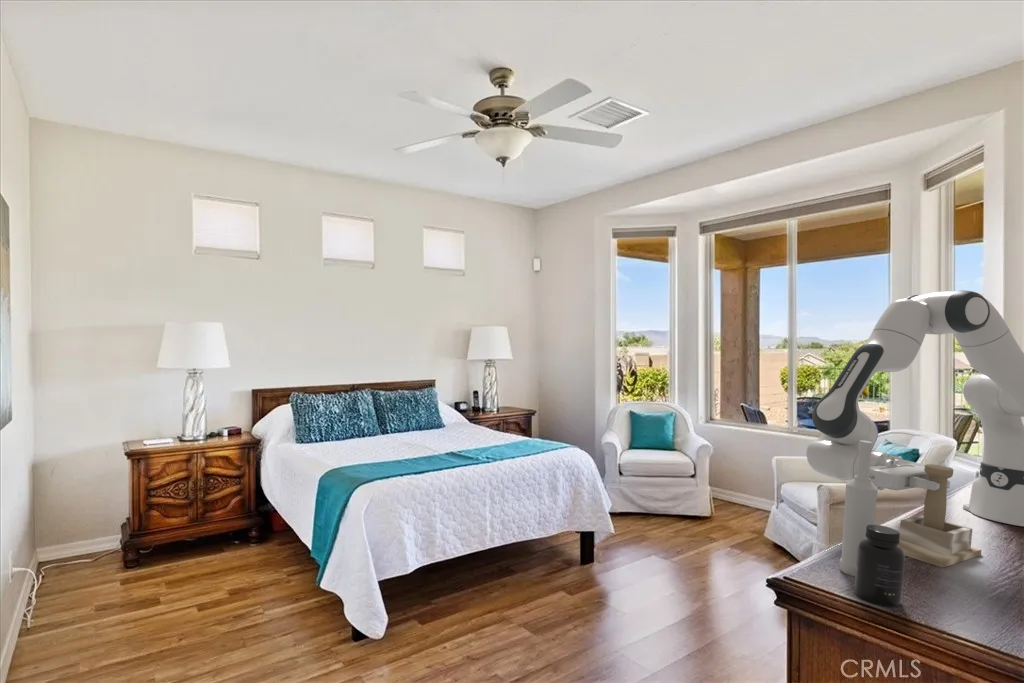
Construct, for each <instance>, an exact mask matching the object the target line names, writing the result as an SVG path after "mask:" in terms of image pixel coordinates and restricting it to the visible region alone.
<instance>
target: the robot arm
mask: <svg viewBox="0 0 1024 683" xmlns="http://www.w3.org/2000/svg"><path fill="white" fill-rule="evenodd" d="M945 334H954V335H953V336H954V337H955V340H956V342H957V343H958V345H959V347H960V349H961V351H962V352H963V354H964V355H965V358H966V360H967V362H968V363H969V365H970V366H971V368H972V369H973V370H975V371H976V372H978V374H974V375H971V376H970V377H969V378H968V379H967V380H966V381H965V383H964V386H963V388H962V391H963V393H962V394H963V398H964V400H965V401H966V403H968V405H969V406H971V408H973V410H974V411H975V413H976V414H977V417H978V418H979V421H980V423H981V424H980V425H981V426H982V431H983V456H982V461H980V466H979V475H980V476H979V477H978V478H976V479H974V480H972V485H971V490H970V491H971V492H970V497H969V502H968V503H965V504H963V505H962V509H963V510H966V511H969V512H971V513H972V514H973V515H975V516H978V517H980V518H984V519H987V520H990V521H994V522H997V523H1003V524H1008V525H1012V526H1019V527H1024V424H1023V420H1022V417H1023V418H1024V351H1023V350H1022V349H1021V347H1020V346H1019V344H1018V342H1017V340H1016V339H1015V337H1014V334H1012V332H1011V330H1010V328H1009V326H1008V323H1007V322H1006V321H1005V320H1004V318H1003V316H1002V315H1001V314H1000V313H999V311H998V310H997V309H996V307H995V306H994V305H993V304H992V303H991V302H990V300H988V299H987V298H986V297H984V296H983V295H982V294H981V293H978V292H975V291H971V290H955V291H954V290H952V291H950V290H949V291H947V290H946V291H945V290H944V291H934V292H930V293H923V294H915V295H910V296H907V297H905V298H900V299H895V300H894V301H892V302H891V303H890V304H889V305H888V306H887V307H886V308H885V310H884V311H883V313H882V314H881V316H880V317H879V319H878V320H877V322H876V324H875V325H874V328H873V329H872V331H871V334H870V336H869V337H868V339H867V340H866V341H865V343H864V344H862V345H861V346H859V347H858V348H857V349H856V350H855V351H854V353H853V354H852V355H851V357H850V358H849V360H848V362H847V363H846V364H845V366H844V368H843V369H842V370H841V371H840V374H839V376H838V377H837V378H836V380H835V381H834V383H833V384H832V386H831V387H830V388H829V390H828V391H827V393H825V394H824V395H823V396H822V397H821V398H819V400H818V401H817V403H815V405H814V407H813V409H812V413H811V419H812V424H813V426H814V427H815V429H817V430H818V431H819V432H820V433H821V434H822V433H823V434H822V435H820V437H817V439H815V440H811V441H810V442H809V443H808V444H807V448H806V458H807V463H808V464H809V466H810V467H811V469H813V470H814V471H815V472H817V473H819V474H821V475H824V476H827V477H829V478H833V479H836V480H840V481H851V480H852V479H854V476H856V475H857V466H858V454H859V451H858V450H859V441H860V440H861V441H869V442H872V447H871V455H870V467H869V478H870V479H871V482H872V483H873V484H874V485H875V486H876V487H877V488H878V491H883V490H885V489H886V490H887V489H888V490H891V491H902V490H909V489H917V488H918V489H926V490H927V489H930V490H939V489H940V483H939V482H936V481H932V480H929V475H928V474H927V473H926V472H925V470H924V469H925V465H926V464H922V463H920V462H919V463H918V462H915V461H911V460H908V459H903V457H902V456H900V455H896V454H889V453H886V452H884V451H883V452H882V451H877V450H873V448H874V446H875V444H876V442H877V441H878V437H879V428H878V427H877V424H876V422H875V421H873V420H872V419H871V418H870V417H869V416H868V415H867V414H865V413H864V412H863V411H862V410H861V409H859V405H858V402H859V398H860V397H861V395H862V393H863V392H864V390H865V389H866V387H867V385H868V383H869V382H870V381H871V379H872V377H873V376H874V375H875V374H876V373H878V372H885V373H896V372H901V371H903V370H906V369H908V368H909V367H910V365H911V364H912V363H913V362H914V360H915V359H916V357H917V355H918V352H919V351H920V349H921V347H922V344H923V342H924V340H925V336H926V335H945ZM950 487H951V481H950V480H949V479H947V489H950Z"/></svg>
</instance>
